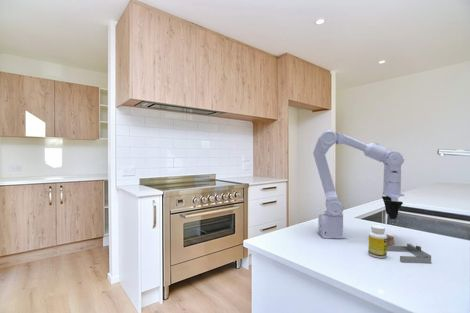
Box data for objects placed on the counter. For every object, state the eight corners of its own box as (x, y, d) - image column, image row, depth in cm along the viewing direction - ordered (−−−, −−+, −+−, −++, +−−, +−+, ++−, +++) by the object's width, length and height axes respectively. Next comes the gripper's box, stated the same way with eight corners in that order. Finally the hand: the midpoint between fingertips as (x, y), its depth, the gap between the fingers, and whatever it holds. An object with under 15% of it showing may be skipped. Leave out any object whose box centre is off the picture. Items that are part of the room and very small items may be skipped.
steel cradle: (401, 262, 77) (402, 251, 77) (384, 249, 87) (384, 240, 87) (431, 263, 77) (431, 252, 76) (409, 250, 87) (410, 241, 86)
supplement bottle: (386, 260, 78) (387, 230, 78) (367, 256, 81) (368, 227, 81) (386, 254, 83) (387, 226, 83) (368, 250, 86) (369, 223, 86)
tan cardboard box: (381, 246, 90) (381, 238, 90) (372, 242, 94) (372, 234, 94) (394, 244, 92) (394, 236, 92) (384, 241, 96) (384, 233, 96)
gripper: (408, 185, 87) (407, 222, 87) (400, 180, 100) (399, 213, 100) (385, 183, 90) (384, 220, 90) (380, 179, 103) (379, 211, 103)
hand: (391, 216), depth 95 cm, fingers open, 7 cm apart
